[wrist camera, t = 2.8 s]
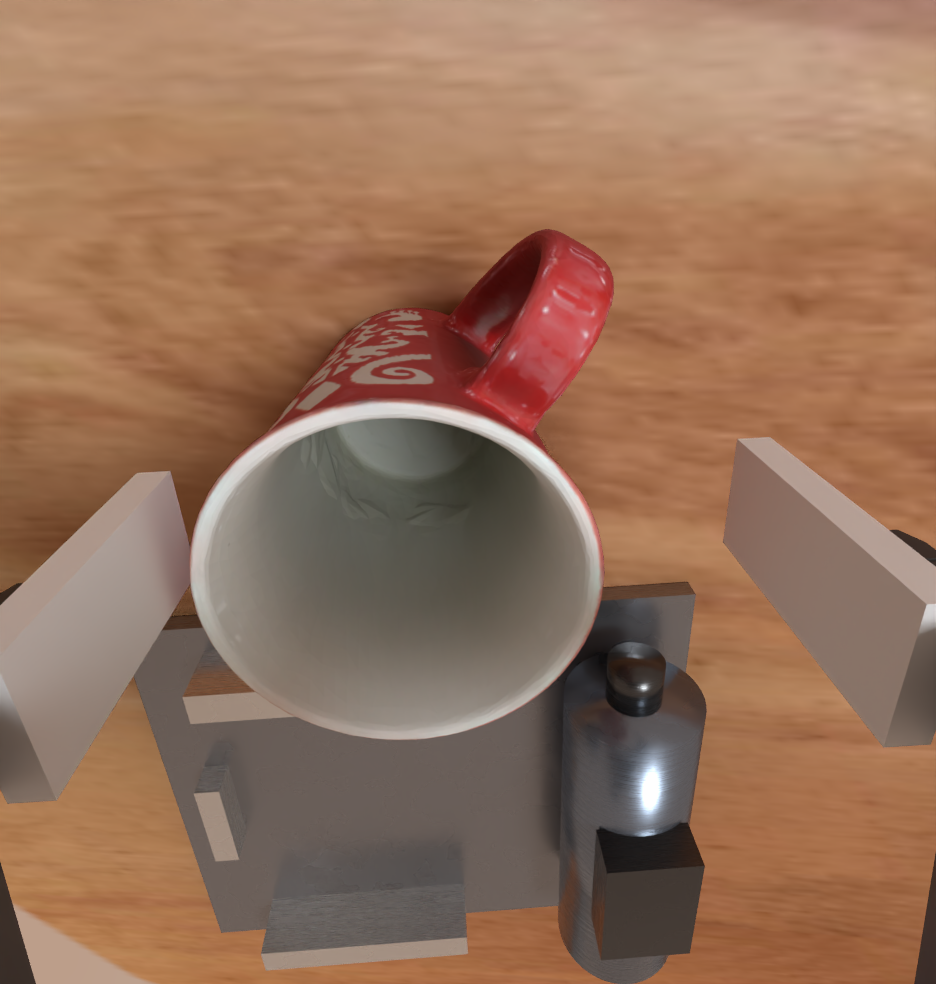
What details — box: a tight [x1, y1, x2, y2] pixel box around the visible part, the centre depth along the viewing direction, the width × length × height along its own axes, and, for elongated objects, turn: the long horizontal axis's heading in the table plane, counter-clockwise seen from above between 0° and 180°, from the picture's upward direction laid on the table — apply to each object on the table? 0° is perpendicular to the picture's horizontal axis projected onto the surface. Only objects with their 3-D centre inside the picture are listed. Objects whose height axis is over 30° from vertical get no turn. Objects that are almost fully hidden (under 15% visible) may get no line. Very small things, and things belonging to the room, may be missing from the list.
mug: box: [189, 229, 614, 740], centre depth 20 cm, size 13×9×14 cm
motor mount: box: [134, 582, 706, 984], centre depth 32 cm, size 26×22×8 cm
